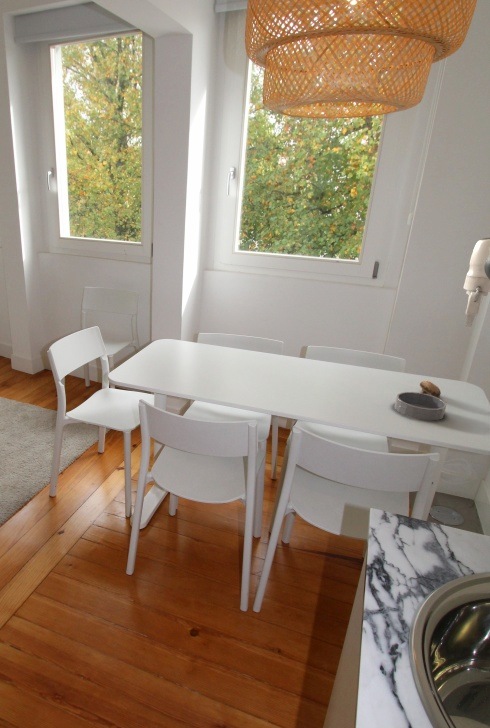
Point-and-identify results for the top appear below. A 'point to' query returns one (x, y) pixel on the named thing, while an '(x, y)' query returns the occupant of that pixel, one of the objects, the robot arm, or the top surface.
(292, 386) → the top surface
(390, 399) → the top surface
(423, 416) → the pan
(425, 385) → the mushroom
